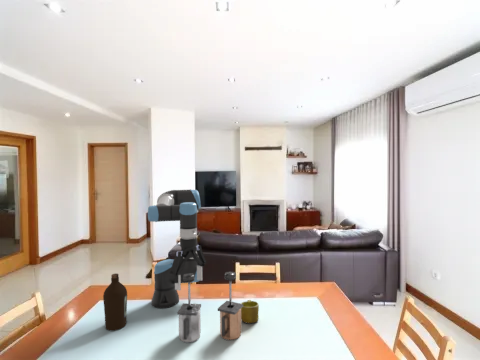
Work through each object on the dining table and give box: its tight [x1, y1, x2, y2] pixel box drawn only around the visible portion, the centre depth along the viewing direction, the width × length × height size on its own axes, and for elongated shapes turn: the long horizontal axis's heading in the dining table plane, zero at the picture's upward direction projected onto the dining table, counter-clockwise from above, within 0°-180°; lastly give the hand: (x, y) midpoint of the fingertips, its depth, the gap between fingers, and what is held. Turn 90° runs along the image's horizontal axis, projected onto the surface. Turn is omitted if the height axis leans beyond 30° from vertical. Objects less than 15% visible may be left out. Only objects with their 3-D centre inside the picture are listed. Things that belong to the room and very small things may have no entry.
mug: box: [240, 299, 260, 324], centre depth 145 cm, size 12×10×10 cm
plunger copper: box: [224, 271, 237, 308], centre depth 131 cm, size 6×6×18 cm
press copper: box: [217, 300, 243, 341], centre depth 130 cm, size 12×9×13 cm
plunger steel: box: [183, 273, 195, 310], centre depth 129 cm, size 6×6×18 cm
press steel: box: [176, 303, 202, 344], centre depth 128 cm, size 12×9×13 cm
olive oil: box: [102, 273, 128, 331], centre depth 139 cm, size 11×11×25 cm
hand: (189, 284), depth 129 cm, fingers open, 13 cm apart
